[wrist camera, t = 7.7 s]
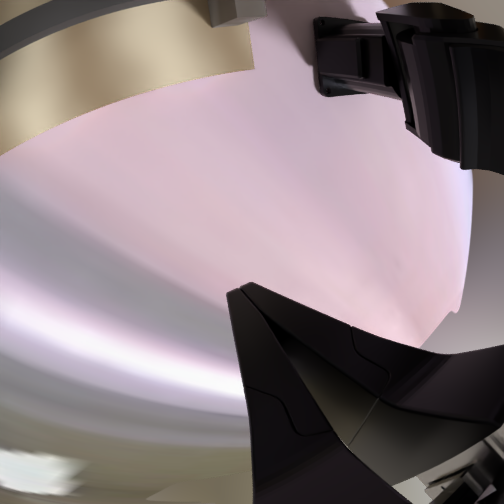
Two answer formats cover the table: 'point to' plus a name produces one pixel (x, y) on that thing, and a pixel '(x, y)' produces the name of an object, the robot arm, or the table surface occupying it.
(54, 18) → the long grey square rod
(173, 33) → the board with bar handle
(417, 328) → the table surface
